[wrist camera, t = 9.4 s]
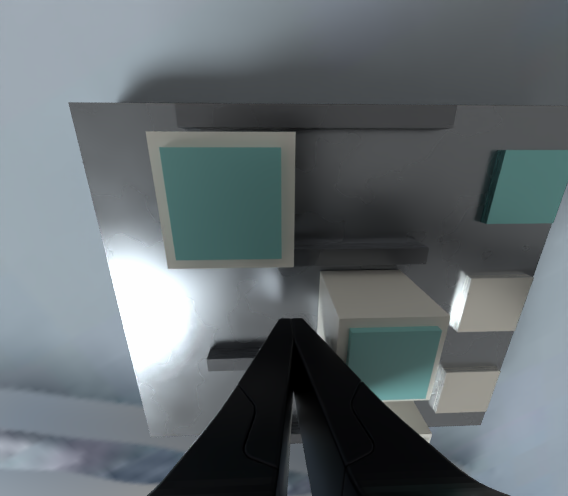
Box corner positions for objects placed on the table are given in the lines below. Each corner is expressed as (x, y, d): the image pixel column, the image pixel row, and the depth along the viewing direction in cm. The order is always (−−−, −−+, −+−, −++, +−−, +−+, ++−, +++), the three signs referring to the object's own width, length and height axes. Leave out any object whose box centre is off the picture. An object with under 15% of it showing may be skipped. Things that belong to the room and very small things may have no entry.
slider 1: (287, 139, 8) (296, 130, 5) (287, 232, 9) (294, 270, 6) (190, 139, 8) (140, 130, 5) (200, 233, 9) (164, 272, 6)
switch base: (533, 115, 10) (617, 102, 8) (454, 390, 15) (489, 437, 12) (109, 112, 10) (52, 98, 7) (167, 399, 14) (144, 450, 12)
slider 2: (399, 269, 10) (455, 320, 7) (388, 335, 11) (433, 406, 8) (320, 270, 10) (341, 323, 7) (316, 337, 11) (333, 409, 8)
